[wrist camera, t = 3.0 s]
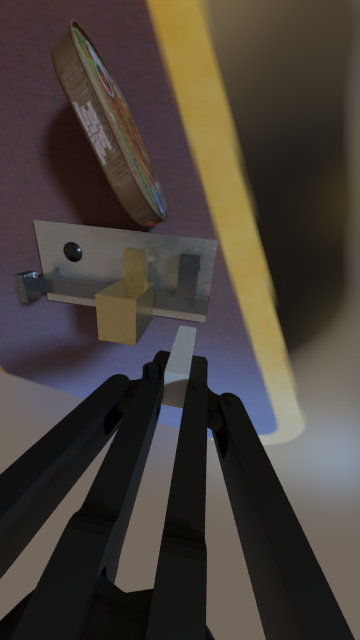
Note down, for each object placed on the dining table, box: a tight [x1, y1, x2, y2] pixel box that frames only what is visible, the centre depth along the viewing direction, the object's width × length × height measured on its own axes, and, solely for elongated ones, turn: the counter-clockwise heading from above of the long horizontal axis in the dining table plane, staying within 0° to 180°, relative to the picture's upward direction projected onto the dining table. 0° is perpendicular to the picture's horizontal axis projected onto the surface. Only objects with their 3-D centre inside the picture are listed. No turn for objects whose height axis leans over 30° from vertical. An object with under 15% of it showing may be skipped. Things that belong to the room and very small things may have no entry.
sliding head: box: [95, 247, 154, 346], centre depth 23 cm, size 9×4×9 cm, turn 174°
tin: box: [51, 19, 169, 227], centre depth 19 cm, size 15×3×8 cm, turn 24°
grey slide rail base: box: [14, 252, 209, 316], centre depth 26 cm, size 8×24×5 cm, turn 84°
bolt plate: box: [33, 220, 218, 322], centre depth 28 cm, size 11×24×1 cm, turn 84°
